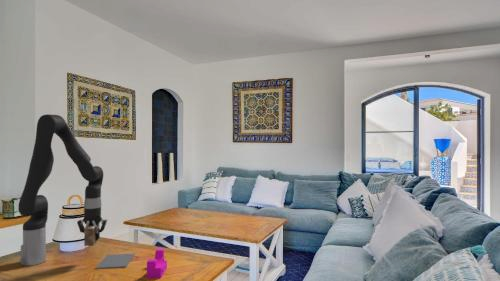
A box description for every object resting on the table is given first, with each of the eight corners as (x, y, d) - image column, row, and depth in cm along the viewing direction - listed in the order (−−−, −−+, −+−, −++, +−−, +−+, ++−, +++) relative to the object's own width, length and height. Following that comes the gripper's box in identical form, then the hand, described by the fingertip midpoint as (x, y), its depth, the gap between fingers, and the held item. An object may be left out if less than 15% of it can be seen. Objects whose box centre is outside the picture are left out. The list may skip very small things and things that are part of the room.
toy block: (160, 278, 131) (160, 261, 131) (146, 278, 131) (146, 261, 131) (169, 264, 146) (169, 249, 146) (156, 264, 146) (156, 249, 146)
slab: (84, 245, 143) (84, 227, 143) (90, 240, 151) (91, 222, 151) (93, 245, 143) (93, 227, 143) (99, 240, 151) (99, 222, 151)
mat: (95, 269, 140) (95, 267, 140) (107, 256, 156) (107, 254, 156) (125, 267, 142) (125, 266, 142) (134, 254, 158) (134, 253, 158)
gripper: (74, 208, 142) (73, 243, 142) (105, 208, 144) (104, 242, 144) (80, 204, 150) (80, 238, 150) (110, 204, 152) (109, 237, 152)
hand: (92, 240), depth 147 cm, fingers closed on slab, 4 cm apart
